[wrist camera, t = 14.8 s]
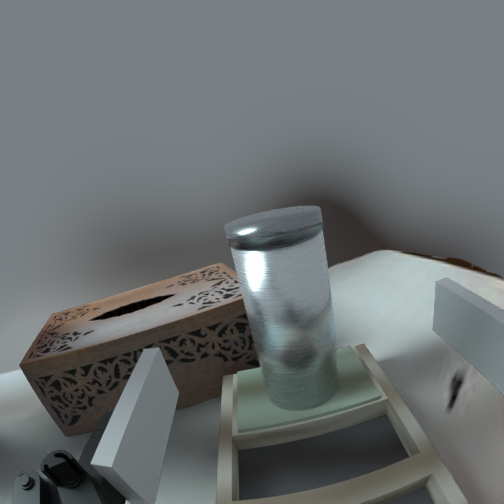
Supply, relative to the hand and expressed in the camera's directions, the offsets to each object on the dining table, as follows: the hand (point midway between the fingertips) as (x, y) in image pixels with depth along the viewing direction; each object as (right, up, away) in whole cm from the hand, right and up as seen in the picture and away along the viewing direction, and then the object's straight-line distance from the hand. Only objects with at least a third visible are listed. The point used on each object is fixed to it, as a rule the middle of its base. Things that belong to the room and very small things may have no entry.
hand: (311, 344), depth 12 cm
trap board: (+3, -13, 0) cm, 13 cm away
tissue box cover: (-14, -12, +20) cm, 27 cm away
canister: (+2, -7, +10) cm, 12 cm away
